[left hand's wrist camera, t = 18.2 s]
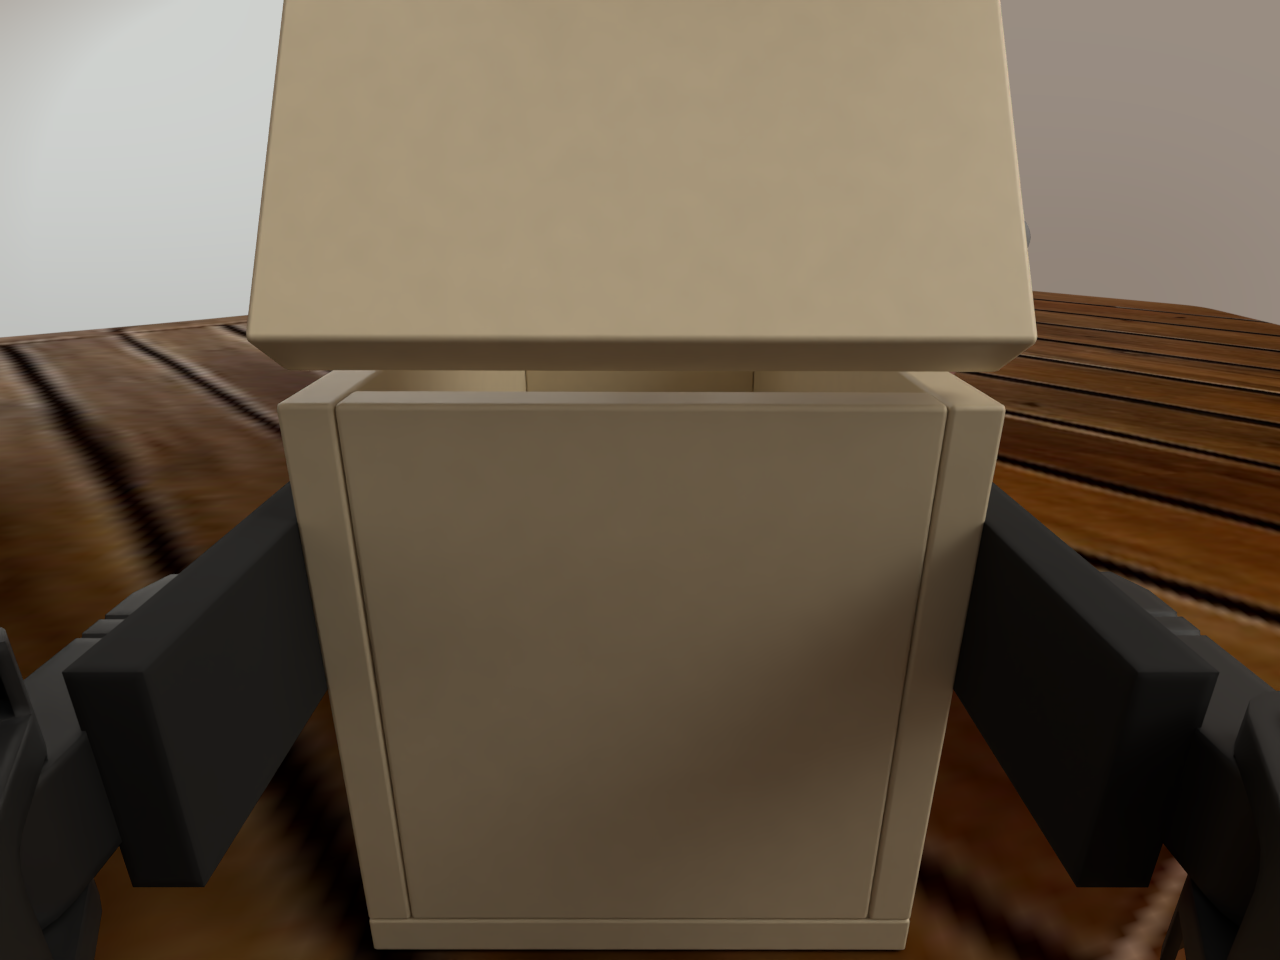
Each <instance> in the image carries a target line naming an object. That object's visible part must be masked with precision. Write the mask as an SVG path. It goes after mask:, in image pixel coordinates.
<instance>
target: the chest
mask: <svg viewBox="0 0 1280 960" xmlns="http://www.w3.org/2000/svg"><path fill="white" fill-rule="evenodd" d="M277 412H278V417H279V423H280V428H281V434H282V439H283V445H284V450H285V456H286V461H287V467H288V473H289V478H290V484H291V489H292V495H293V500H294V506H295V511H296V517H297V522H298V528H299V533H300V539H301V544H302V550H303V555H304V561H305V566H306V572H307V577H308V583H309V588H310V594H311V599H312V605H313V610H314V616H315V621H316V627H317V632H318V638H319V643H320V649H321V654H322V660H323V665H324V671H325V676H326V682H327V687H328V693H329V699H330V704H331V710H332V715H333V721H334V726H335V732H336V737H337V743H338V748H339V754H340V759H341V765H342V770H343V776H344V781H345V787H346V792H347V798H348V803H349V809H350V814H351V820H352V825H353V831H354V836H355V842H356V847H357V853H358V858H359V864H360V869H361V875H362V880H363V886H364V891H365V897H366V902H367V908H368V914H369V917H370V927H371V933H372V938H373V944H374V948H375V949H522V950H903V949H904V948H905V944H906V939H907V933H908V928H909V923H910V920H909V918H910V915H911V910H912V904H913V899H914V894H915V889H916V883H917V878H918V873H919V867H920V862H921V857H922V851H923V846H924V841H925V836H926V830H927V825H928V820H929V814H930V809H931V804H932V798H933V793H934V788H935V782H936V777H937V772H938V767H939V761H940V756H941V751H942V745H943V740H944V735H945V729H946V724H947V719H948V713H949V708H950V703H951V698H952V692H953V686H954V680H955V675H956V669H957V664H958V659H959V653H960V648H961V643H962V637H963V632H964V626H965V621H966V616H967V610H968V605H969V599H970V594H971V589H972V583H973V578H974V573H975V567H976V562H977V556H978V551H979V546H980V540H981V535H982V529H983V524H984V522H985V517H986V512H987V507H988V501H989V496H990V491H991V485H992V480H993V475H994V469H995V464H996V459H997V453H998V448H999V443H1000V438H1001V432H1002V427H1003V422H1004V416H1005V407H1004V406H1003V405H1002V404H1000V403H999V402H997V401H995V400H994V399H992V398H990V397H989V396H987V395H985V394H984V393H982V392H981V391H979V390H977V389H976V388H974V387H972V386H971V385H969V384H967V383H966V382H964V381H963V380H961V379H959V378H958V377H956V376H954V375H953V374H951V373H949V372H862V371H447V370H333V371H332V372H330V373H329V374H327V375H325V376H324V377H322V378H320V379H319V380H317V381H315V382H314V383H312V384H311V385H309V386H307V387H306V388H304V389H302V390H301V391H299V392H298V393H296V394H294V395H293V396H291V397H289V398H288V399H286V400H285V401H283V402H281V403H280V404H278V407H277Z"/></svg>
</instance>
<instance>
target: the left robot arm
mask: <svg viewBox="0 0 1280 960" xmlns="http://www.w3.org/2000/svg"><path fill="white" fill-rule="evenodd" d="M327 689H328V687H327V682H326V676H325V671H324V665H323V660H322V654H321V649H320V643H319V638H318V632H317V627H316V621H315V616H314V610H313V605H312V599H311V594H310V588H309V583H308V577H307V572H306V566H305V561H304V555H303V550H302V544H301V539H300V533H299V528H298V522H297V517H296V511H295V506H294V500H293V495H292V489H291V484H290V481H289V482H288V483H287V484H286V485H284V486H283V487H282V488H281V489H280V490H279V491H277V492H276V493H275V494H274V495H273V496H271V497H270V498H269V499H268V500H267V501H265V502H264V503H263V504H262V505H261V506H259V507H258V508H257V509H256V510H255V511H253V512H252V513H251V514H250V515H249V516H247V517H246V518H245V519H244V520H243V521H242V522H240V523H239V524H238V525H237V526H236V527H234V528H233V529H232V530H231V531H230V532H228V533H227V534H226V535H225V536H224V537H222V538H221V539H220V540H219V541H218V542H216V543H215V544H214V545H213V546H212V547H210V548H209V549H208V550H207V551H206V552H204V553H203V554H202V555H201V556H200V557H199V558H197V559H196V560H195V561H194V562H193V563H191V564H190V565H189V566H188V567H187V568H185V569H184V570H183V571H182V572H181V573H179V574H171V575H169V576H167V577H165V578H163V579H161V580H159V581H156V582H154V583H152V584H150V585H148V586H146V587H144V588H142V589H140V590H138V591H136V592H134V593H132V594H131V595H130V596H128V597H127V598H126V599H125V600H123V601H122V602H121V603H120V604H118V605H117V606H116V607H115V608H113V609H112V610H111V611H110V612H108V613H107V614H106V615H105V619H100V620H98V621H97V622H96V623H95V624H93V625H92V626H91V627H90V628H88V629H87V630H86V631H85V632H83V633H82V638H76V639H75V640H73V641H72V642H71V643H70V644H68V645H67V646H66V647H65V648H63V649H62V650H61V651H60V652H58V653H57V654H56V655H55V656H53V657H52V658H51V659H50V660H48V661H47V662H46V663H45V664H43V665H42V666H41V667H40V668H38V669H37V670H36V671H35V672H33V673H32V674H31V675H30V676H28V677H27V678H26V679H25V680H23V678H22V676H21V673H20V670H19V667H18V664H17V662H16V659H15V656H14V653H13V650H12V648H11V645H10V642H9V639H8V636H7V634H6V631H5V629H3V628H1V627H0V960H94V957H95V951H96V945H97V939H98V932H99V926H100V920H101V914H102V908H101V901H100V895H99V892H98V889H97V886H96V884H95V881H94V877H95V876H96V874H97V873H98V872H99V870H100V869H101V868H102V867H103V865H104V864H105V863H106V862H107V860H108V859H109V858H110V857H111V855H112V854H113V853H114V852H115V850H116V849H117V848H118V846H120V849H121V852H122V855H123V858H124V861H125V864H126V867H127V870H128V873H129V876H130V879H131V882H132V885H133V887H205V885H206V883H207V882H208V880H209V878H210V877H211V875H212V874H213V872H214V870H215V869H216V867H217V866H218V864H219V862H220V861H221V859H222V858H223V856H224V854H225V853H226V851H227V850H228V848H229V846H230V845H231V843H232V842H233V840H234V838H235V837H236V835H237V834H238V832H239V830H240V829H241V827H242V826H243V824H244V822H245V821H246V819H247V817H248V816H249V814H250V813H251V811H252V809H253V808H254V806H255V805H256V803H257V801H258V800H259V798H260V797H261V795H262V793H263V792H264V790H265V789H266V787H267V785H268V784H269V782H270V781H271V779H272V777H273V776H274V774H275V773H276V771H277V769H278V768H279V766H280V765H281V763H282V761H283V760H284V758H285V756H286V755H287V753H288V752H289V750H290V748H291V747H292V745H293V744H294V742H295V740H296V739H297V737H298V736H299V734H300V732H301V731H302V729H303V728H304V726H305V724H306V723H307V721H308V720H309V718H310V716H311V715H312V713H313V712H314V710H315V708H316V707H317V705H318V703H319V702H320V700H321V699H322V697H323V695H324V694H325V692H326V691H327ZM953 689H954V691H955V692H956V694H957V696H958V697H959V699H960V700H961V702H962V704H963V705H964V707H965V708H966V710H967V712H968V713H969V715H970V716H971V718H972V720H973V721H974V723H975V725H976V726H977V728H978V729H979V731H980V733H981V734H982V736H983V737H984V739H985V741H986V742H987V744H988V745H989V747H990V749H991V750H992V752H993V753H994V755H995V757H996V758H997V760H998V761H999V763H1000V765H1001V766H1002V768H1003V769H1004V771H1005V773H1006V774H1007V776H1008V777H1009V779H1010V781H1011V782H1012V784H1013V785H1014V787H1015V789H1016V790H1017V792H1018V794H1019V795H1020V797H1021V798H1022V800H1023V802H1024V803H1025V805H1026V806H1027V808H1028V810H1029V811H1030V813H1031V814H1032V816H1033V818H1034V819H1035V821H1036V822H1037V824H1038V826H1039V827H1040V829H1041V830H1042V832H1043V834H1044V835H1045V837H1046V838H1047V840H1048V842H1049V843H1050V845H1051V846H1052V848H1053V850H1054V851H1055V853H1056V854H1057V856H1058V858H1059V859H1060V861H1061V863H1062V864H1063V866H1064V867H1065V869H1066V871H1067V872H1068V874H1069V875H1070V877H1071V879H1072V880H1073V882H1074V883H1075V885H1076V887H1148V886H1149V883H1150V880H1151V877H1152V874H1153V871H1154V868H1155V865H1156V862H1157V859H1158V856H1159V853H1160V850H1161V847H1162V844H1164V845H1165V846H1166V847H1167V849H1168V850H1169V851H1170V852H1171V854H1172V855H1173V856H1174V857H1175V859H1176V860H1177V861H1178V862H1179V864H1180V865H1181V866H1182V867H1183V869H1184V870H1185V871H1186V872H1187V874H1188V875H1187V878H1186V881H1185V884H1184V886H1183V889H1182V892H1181V895H1180V898H1179V900H1178V903H1177V906H1176V909H1175V912H1174V915H1173V917H1172V920H1171V923H1170V926H1169V929H1168V931H1167V934H1166V937H1165V940H1164V943H1163V945H1162V951H1161V957H1160V960H1175V958H1176V956H1177V953H1178V950H1180V949H1182V948H1184V949H1185V955H1186V960H1280V691H1275V690H1274V689H1273V688H1272V687H1270V686H1269V685H1268V684H1267V683H1265V682H1264V681H1263V680H1262V679H1260V678H1259V677H1258V676H1256V675H1255V674H1254V673H1253V672H1251V671H1250V670H1249V669H1248V668H1246V667H1245V666H1244V665H1243V664H1241V663H1240V662H1239V661H1238V660H1236V659H1235V658H1234V657H1233V656H1231V655H1230V654H1229V653H1227V652H1226V651H1225V650H1224V649H1222V648H1221V647H1220V646H1219V645H1217V644H1216V643H1215V642H1214V641H1212V640H1211V639H1210V638H1209V637H1207V636H1206V635H1200V630H1198V629H1197V628H1196V627H1195V626H1193V625H1192V624H1191V623H1190V622H1188V621H1187V620H1186V619H1185V618H1183V617H1177V612H1176V611H1174V610H1173V609H1172V608H1171V607H1169V606H1168V605H1167V604H1166V603H1164V602H1163V601H1162V600H1161V599H1159V598H1158V597H1157V596H1155V595H1154V594H1153V593H1152V592H1150V591H1149V590H1147V589H1145V588H1143V587H1141V586H1139V585H1137V584H1135V583H1133V582H1131V581H1129V580H1127V579H1124V578H1122V577H1120V576H1118V575H1116V574H1114V573H1112V572H1099V571H1098V570H1097V569H1096V568H1094V567H1093V566H1092V565H1091V564H1090V563H1088V562H1087V561H1086V560H1085V559H1084V558H1082V557H1081V556H1080V555H1079V554H1078V553H1077V552H1075V551H1074V550H1073V549H1072V548H1071V547H1069V546H1068V545H1067V544H1066V543H1065V542H1063V541H1062V540H1061V539H1060V538H1059V537H1057V536H1056V535H1055V534H1054V533H1053V532H1051V531H1050V530H1049V529H1048V528H1047V527H1045V526H1044V525H1043V524H1042V523H1041V522H1039V521H1038V520H1037V519H1036V518H1035V517H1033V516H1032V515H1031V514H1030V513H1029V512H1028V511H1026V510H1025V509H1024V508H1023V507H1022V506H1020V505H1019V504H1018V503H1017V502H1016V501H1014V500H1013V499H1012V498H1011V497H1010V496H1008V495H1007V494H1006V493H1005V492H1004V491H1002V490H1001V489H1000V488H999V487H998V486H996V485H995V484H994V483H993V482H992V485H991V491H990V496H989V501H988V507H987V512H986V517H985V522H984V524H983V529H982V535H981V540H980V546H979V551H978V556H977V562H976V567H975V573H974V578H973V583H972V589H971V594H970V599H969V605H968V610H967V616H966V621H965V626H964V632H963V637H962V643H961V648H960V653H959V659H958V664H957V669H956V675H955V680H954V686H953Z"/></svg>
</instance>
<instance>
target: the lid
mask: <svg viewBox="0 0 1280 960" xmlns="http://www.w3.org/2000/svg"><path fill="white" fill-rule="evenodd" d="M246 336H247V339H248V341H249V342H250V343H251V344H253V345H254V346H255V347H257V348H258V349H259V350H261V351H262V352H263V353H265V354H266V355H267V356H269V357H270V358H271V359H273V360H274V361H275V362H277V363H278V364H279V365H281V366H282V367H283V368H285V369H288V370H447V371H862V372H994V371H997V370H999V369H1000V368H1002V367H1003V366H1004V365H1006V364H1007V363H1008V362H1010V361H1011V360H1013V359H1014V358H1015V357H1017V356H1018V355H1019V354H1021V353H1022V352H1024V351H1025V350H1026V349H1028V348H1029V347H1030V346H1032V345H1033V344H1035V342H1036V339H1037V331H1036V322H1035V312H1034V303H1033V294H1032V285H1031V276H1030V267H1029V258H1028V249H1027V240H1026V231H1025V222H1024V213H1023V203H1022V194H1021V185H1020V176H1019V167H1018V158H1017V149H1016V140H1015V131H1014V122H1013V113H1012V103H1011V95H1010V85H1009V76H1008V67H1007V58H1006V49H1005V40H1004V31H1003V22H1002V13H1001V3H1000V0H284V3H283V12H282V21H281V30H280V39H279V47H278V56H277V65H276V74H275V83H274V92H273V100H272V109H271V118H270V127H269V136H268V145H267V154H266V163H265V171H264V180H263V189H262V198H261V207H260V216H259V225H258V234H257V242H256V251H255V260H254V269H253V278H252V287H251V296H250V305H249V313H248V322H247V331H246Z"/></svg>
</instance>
